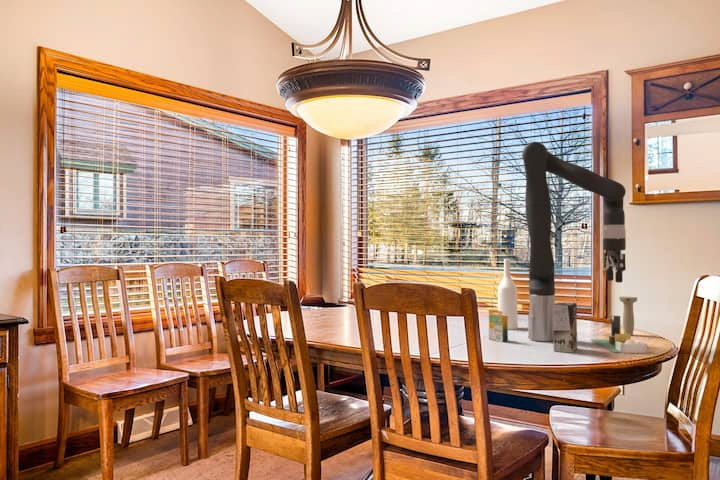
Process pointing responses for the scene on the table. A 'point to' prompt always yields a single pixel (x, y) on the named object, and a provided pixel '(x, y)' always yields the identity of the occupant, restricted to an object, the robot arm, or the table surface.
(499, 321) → the crayon box
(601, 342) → the pitch
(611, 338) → the brown cardboard carton
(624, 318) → the handle
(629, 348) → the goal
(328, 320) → the table surface
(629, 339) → the ball
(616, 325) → the long multicoloured device
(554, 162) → the robot arm
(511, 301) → the bottle
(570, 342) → the coffee box
